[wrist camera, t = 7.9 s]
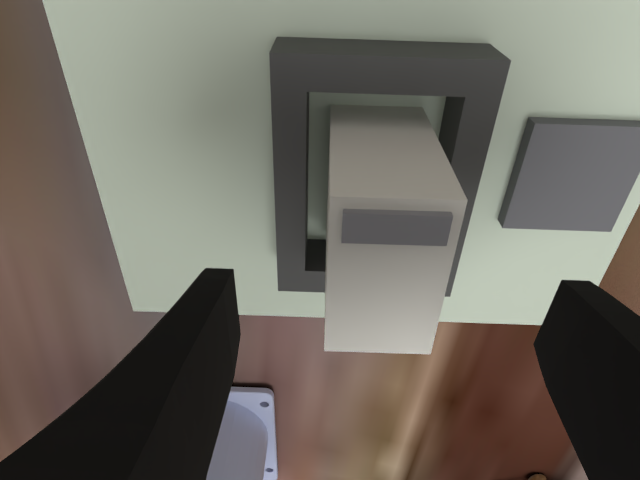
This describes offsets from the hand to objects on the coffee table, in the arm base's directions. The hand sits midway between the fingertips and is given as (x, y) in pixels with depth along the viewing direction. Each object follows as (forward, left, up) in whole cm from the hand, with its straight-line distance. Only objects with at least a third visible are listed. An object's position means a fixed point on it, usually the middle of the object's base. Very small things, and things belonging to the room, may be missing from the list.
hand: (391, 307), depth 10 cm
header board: (0, 0, -8) cm, 8 cm away
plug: (0, 0, -7) cm, 7 cm away
